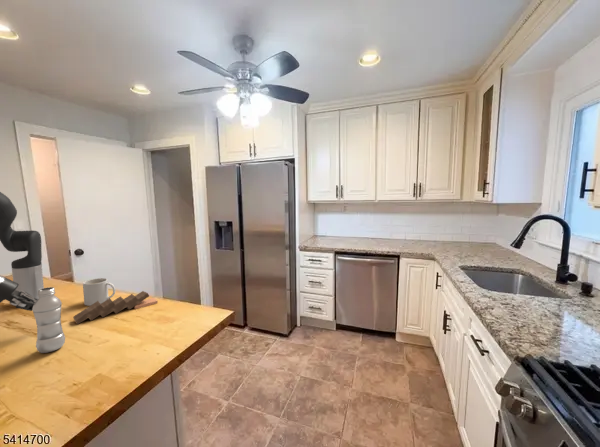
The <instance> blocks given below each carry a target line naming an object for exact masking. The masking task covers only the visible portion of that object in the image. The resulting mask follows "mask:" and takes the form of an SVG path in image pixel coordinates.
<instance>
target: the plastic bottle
mask: <svg viewBox="0 0 600 447" xmlns="http://www.w3.org/2000/svg"><path fill="white" fill-rule="evenodd" d="M55 294H56V291H55V287H53V286H51V287H44V288H43V289H40V290H38V297H39V299H38V300H37V301H36V302H35V304H34V305H33V308H32V312H33V316H34V320H35V322H36V330H37V331H36V332H37V333H36V343H35V348H36V350H37V352H39V353H40V354H47V353H51V352H54V351H57V350H59V349H61V348H62V347H63V346H64V345H65V343H66V342H65V341H66V336H65V333H64V330H63V327H62V326H63V325H62V304H63V303H62V300H61V299H60V298H58V297H57V296H56V295H55Z"/></svg>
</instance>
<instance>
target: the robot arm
mask: <svg viewBox="0 0 600 447" xmlns="http://www.w3.org/2000/svg"><path fill="white" fill-rule="evenodd" d="M17 214H18V210H17V208H16V206H15V204H14V203H13V202H12V201H11V199H10V197H8V195H6V194H5V193H3V192H1V191H0V242H1V245H2V246H3V248H4V249H5V250H7V251H8V252H13V253H18V252H19V253H20V252H27V255H25V256H24V257H22V258H21V257H20V258H18V259H15V260H13V261H11V275H12V280H11V279H9V278H7V277H5V276H3V275H1V274H0V304H1V303H3V301H7V302H9V304H10V305H12V306H15V308H16V309H19V310H25V311H29V312H33V310H32V308H33V305H34V304H35V302H36V301H37V300H38V299H39V297H38V290H40V289H43V288H45V287H44V277H43V276H44V275H43V264H42V260H43V255H42V254H43V253H42V237H41V236H42V235H41V234H40V232H39V231H37V230H14V229H13V228H12V224H13V222H15V219H16V218H17Z"/></svg>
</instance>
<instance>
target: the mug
mask: <svg viewBox="0 0 600 447" xmlns="http://www.w3.org/2000/svg"><path fill="white" fill-rule="evenodd" d="M109 286H110V287H111V288H112V294H111V295H110V296H109ZM82 288H83V289H82V291H83V293H82V294H83V305H84V306H85V307H86V306H87V307H89V306H91V305H92V304H94V303H95V302H97V301H99V303H100V304H101V303H103V302H105V301H106V300H108V299H109V298H110V299H111V298H113V297H114V296H115V295H116V287H115V284H113V283H112V282H108V278H105V277H99V278H92V279H89V280H86V281H85V280H84V281H83V282H82Z"/></svg>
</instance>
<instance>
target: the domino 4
mask: <svg viewBox="0 0 600 447" xmlns="http://www.w3.org/2000/svg"><path fill="white" fill-rule="evenodd" d="M123 299H124V301H125V302H126V303H125V304H123V305H122V306H120V307H119V308H117V309H116V310H114V311H113V313H114V314H118V313H120V312H121V311H122V310H124V309H125V308H126V307H127V306H129V305H131V304H132V303H134V302H135V301H137V300H138V299H137V298H136V295H134V293H132V294H129V295H128V296H126V297H125V298H123ZM126 309H127V308H126Z"/></svg>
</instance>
